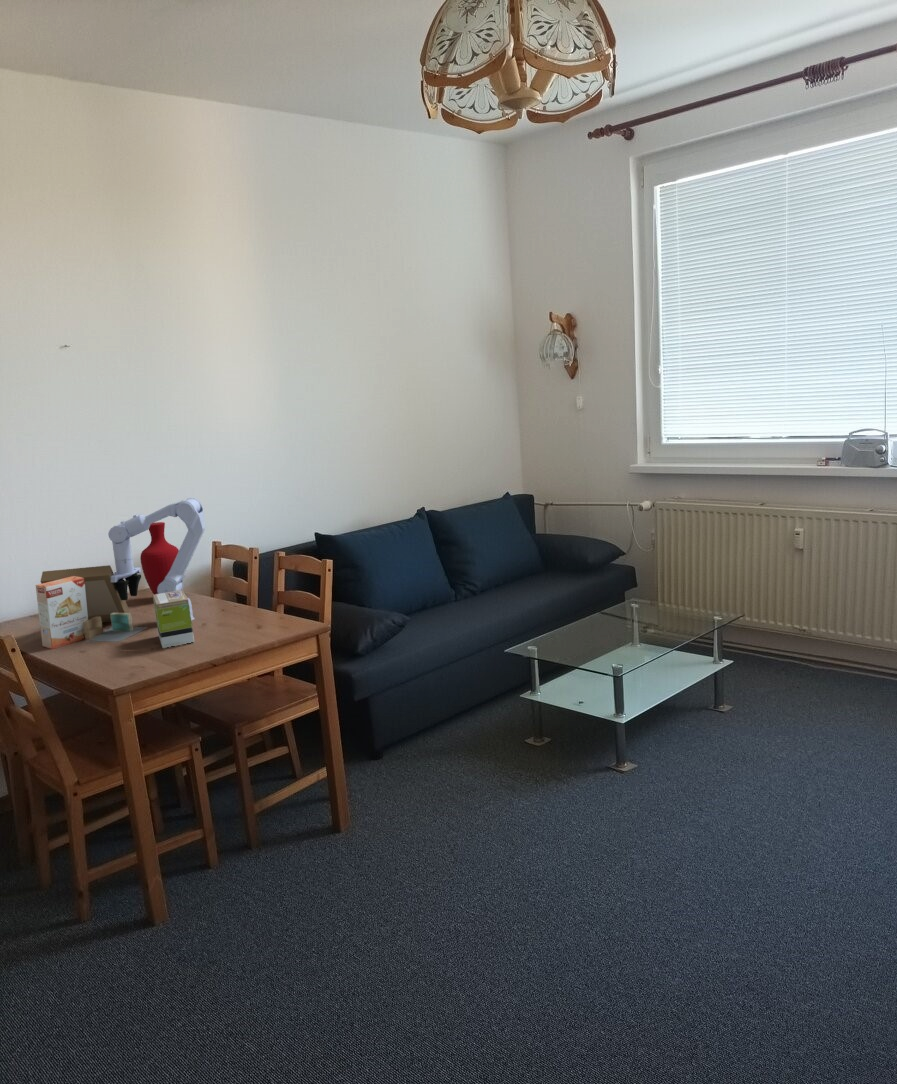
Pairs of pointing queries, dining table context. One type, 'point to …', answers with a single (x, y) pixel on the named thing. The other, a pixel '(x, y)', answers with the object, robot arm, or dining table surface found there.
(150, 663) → the dining table surface
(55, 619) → the cracker box
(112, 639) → the felt mat
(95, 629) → the tile plain
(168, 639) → the tea box
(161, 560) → the vase
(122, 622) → the tile teal
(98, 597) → the photo frame
